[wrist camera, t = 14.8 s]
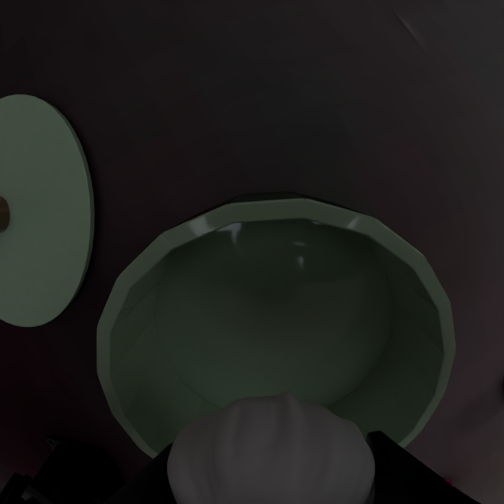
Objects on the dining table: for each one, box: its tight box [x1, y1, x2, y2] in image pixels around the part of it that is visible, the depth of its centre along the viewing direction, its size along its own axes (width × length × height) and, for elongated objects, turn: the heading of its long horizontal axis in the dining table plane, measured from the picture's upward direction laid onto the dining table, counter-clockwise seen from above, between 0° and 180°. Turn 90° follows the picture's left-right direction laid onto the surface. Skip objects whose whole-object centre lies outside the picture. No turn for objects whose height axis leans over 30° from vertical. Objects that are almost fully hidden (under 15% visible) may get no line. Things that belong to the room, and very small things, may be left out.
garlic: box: [167, 392, 375, 504], centre depth 7 cm, size 6×5×5 cm
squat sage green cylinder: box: [97, 191, 456, 459], centre depth 14 cm, size 14×14×6 cm
